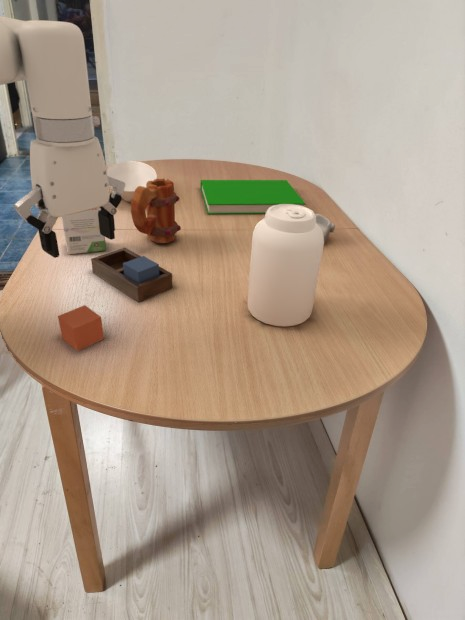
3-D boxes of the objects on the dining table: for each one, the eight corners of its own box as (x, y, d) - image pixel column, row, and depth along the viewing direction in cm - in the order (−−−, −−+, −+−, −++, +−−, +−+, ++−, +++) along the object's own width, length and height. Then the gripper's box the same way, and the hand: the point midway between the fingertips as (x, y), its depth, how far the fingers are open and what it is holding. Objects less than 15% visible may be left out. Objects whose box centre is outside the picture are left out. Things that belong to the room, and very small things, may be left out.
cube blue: (139, 292, 89) (138, 272, 86) (124, 283, 91) (122, 263, 89) (159, 284, 92) (158, 264, 89) (144, 275, 95) (143, 255, 92)
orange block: (77, 351, 74) (73, 328, 71) (61, 337, 77) (57, 315, 74) (104, 338, 77) (101, 316, 74) (88, 326, 80) (84, 304, 77)
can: (324, 312, 87) (343, 213, 76) (281, 336, 80) (296, 231, 69) (276, 286, 95) (287, 193, 84) (233, 307, 87) (239, 207, 76)
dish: (337, 238, 118) (340, 220, 115) (309, 254, 108) (312, 235, 106) (290, 222, 125) (292, 205, 122) (260, 237, 116) (262, 218, 113)
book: (304, 213, 132) (305, 203, 130) (208, 214, 127) (208, 204, 126) (285, 188, 150) (286, 179, 149) (200, 188, 146) (200, 179, 144)
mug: (159, 229, 117) (157, 171, 109) (186, 236, 114) (185, 177, 106) (122, 250, 106) (117, 186, 97) (151, 258, 103) (148, 194, 94)
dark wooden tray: (138, 302, 87) (137, 287, 85) (92, 272, 96) (90, 258, 94) (172, 287, 92) (172, 273, 91) (126, 260, 101) (124, 247, 99)
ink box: (104, 242, 109) (98, 194, 102) (106, 251, 105) (101, 202, 98) (66, 246, 106) (58, 197, 100) (67, 255, 102) (59, 204, 96)
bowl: (160, 212, 127) (159, 190, 124) (105, 213, 124) (102, 191, 121) (155, 179, 151) (154, 160, 148) (108, 179, 149) (106, 161, 145)
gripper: (103, 118, 69) (113, 224, 78) (-13, 131, 58) (15, 253, 67) (134, 126, 65) (140, 237, 74) (15, 143, 53) (40, 271, 63)
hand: (81, 245), depth 70 cm, fingers open, 9 cm apart
